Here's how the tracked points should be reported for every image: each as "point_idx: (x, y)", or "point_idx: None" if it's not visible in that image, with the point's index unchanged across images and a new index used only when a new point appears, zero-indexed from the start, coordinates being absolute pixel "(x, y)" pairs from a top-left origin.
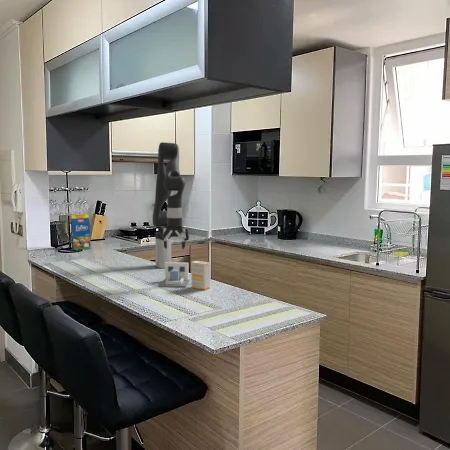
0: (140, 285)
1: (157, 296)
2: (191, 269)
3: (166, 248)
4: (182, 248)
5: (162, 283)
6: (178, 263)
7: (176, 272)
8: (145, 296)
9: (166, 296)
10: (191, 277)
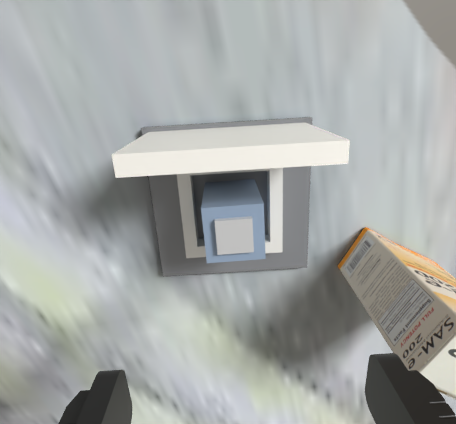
0: (51, 262)
1: (207, 403)
2: (383, 336)
3: (130, 411)
4: (374, 404)
5: (166, 240)
6: (251, 168)
7: (252, 256)
8: (159, 409)
9: (244, 398)
10: (359, 299)
